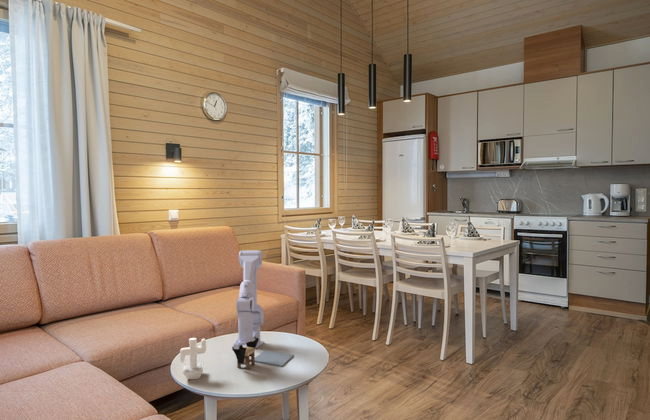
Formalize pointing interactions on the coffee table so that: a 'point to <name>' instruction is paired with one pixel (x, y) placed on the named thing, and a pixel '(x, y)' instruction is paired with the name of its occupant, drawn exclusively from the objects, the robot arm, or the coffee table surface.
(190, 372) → the figurine
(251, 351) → the stool
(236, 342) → the robot arm
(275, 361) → the slate mat
